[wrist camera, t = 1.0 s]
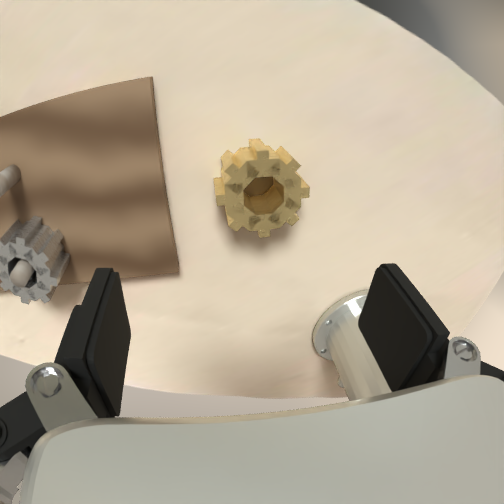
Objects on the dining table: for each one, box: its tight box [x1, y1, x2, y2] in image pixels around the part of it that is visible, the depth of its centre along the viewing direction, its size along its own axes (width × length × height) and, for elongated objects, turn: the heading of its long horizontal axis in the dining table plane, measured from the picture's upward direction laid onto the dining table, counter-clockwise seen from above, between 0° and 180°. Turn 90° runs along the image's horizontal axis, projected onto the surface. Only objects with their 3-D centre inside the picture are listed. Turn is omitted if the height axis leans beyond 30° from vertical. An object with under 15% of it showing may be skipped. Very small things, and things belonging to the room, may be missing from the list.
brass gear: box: [214, 139, 310, 238], centre depth 27 cm, size 7×7×4 cm
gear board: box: [0, 77, 179, 290], centre depth 23 cm, size 18×24×6 cm
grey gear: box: [0, 216, 70, 304], centre depth 25 cm, size 7×7×4 cm
